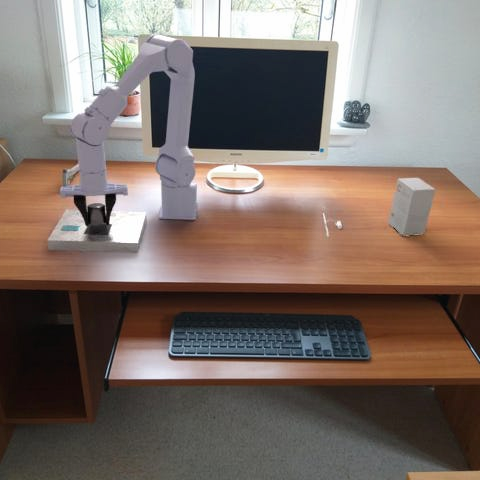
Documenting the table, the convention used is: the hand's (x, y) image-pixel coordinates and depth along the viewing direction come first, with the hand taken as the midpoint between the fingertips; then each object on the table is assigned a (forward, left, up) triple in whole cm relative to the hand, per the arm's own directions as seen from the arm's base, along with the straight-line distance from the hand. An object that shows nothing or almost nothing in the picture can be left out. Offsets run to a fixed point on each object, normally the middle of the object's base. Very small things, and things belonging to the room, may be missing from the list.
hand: (97, 223), depth 118 cm
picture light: (-59, -11, -5) cm, 60 cm away
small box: (-78, -10, -4) cm, 79 cm away
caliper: (+15, -37, -4) cm, 40 cm away
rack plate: (0, -2, -4) cm, 4 cm away
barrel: (0, 0, -2) cm, 2 cm away
